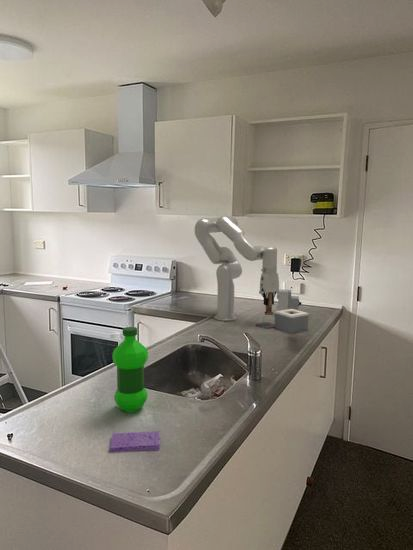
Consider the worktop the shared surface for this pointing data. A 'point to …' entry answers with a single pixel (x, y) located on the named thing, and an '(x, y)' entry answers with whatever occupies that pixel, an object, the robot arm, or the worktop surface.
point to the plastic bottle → (130, 372)
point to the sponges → (135, 441)
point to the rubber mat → (266, 325)
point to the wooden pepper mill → (269, 305)
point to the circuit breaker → (287, 300)
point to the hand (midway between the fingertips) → (268, 304)
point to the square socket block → (291, 320)
